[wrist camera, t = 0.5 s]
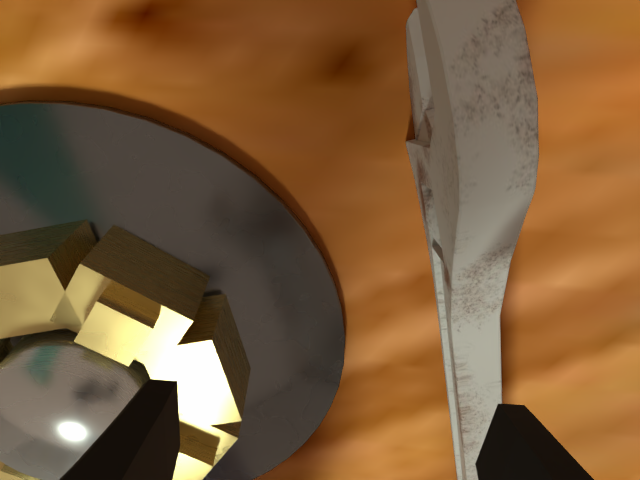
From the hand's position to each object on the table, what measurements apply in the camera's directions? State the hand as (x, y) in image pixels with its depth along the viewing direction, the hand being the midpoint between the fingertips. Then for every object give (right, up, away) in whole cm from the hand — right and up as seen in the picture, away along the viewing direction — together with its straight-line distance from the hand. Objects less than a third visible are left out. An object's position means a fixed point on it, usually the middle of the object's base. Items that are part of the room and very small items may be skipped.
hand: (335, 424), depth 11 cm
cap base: (-10, -1, +11) cm, 15 cm away
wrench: (+6, 0, +12) cm, 13 cm away
